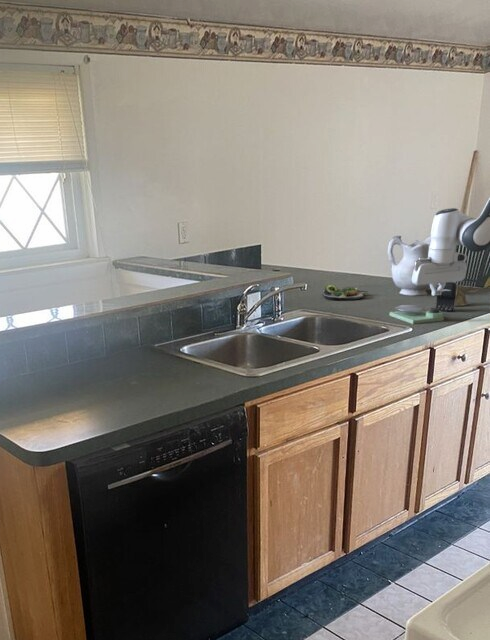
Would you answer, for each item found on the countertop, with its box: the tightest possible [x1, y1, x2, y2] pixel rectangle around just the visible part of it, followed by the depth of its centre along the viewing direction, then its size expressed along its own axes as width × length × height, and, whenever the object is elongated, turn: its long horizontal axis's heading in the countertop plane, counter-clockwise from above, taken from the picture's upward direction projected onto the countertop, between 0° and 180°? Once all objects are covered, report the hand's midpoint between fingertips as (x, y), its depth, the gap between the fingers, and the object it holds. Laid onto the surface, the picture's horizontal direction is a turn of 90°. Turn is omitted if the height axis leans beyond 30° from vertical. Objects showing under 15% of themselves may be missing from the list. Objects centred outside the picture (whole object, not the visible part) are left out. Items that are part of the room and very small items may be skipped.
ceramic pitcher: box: [387, 235, 431, 296], centre depth 283 cm, size 22×20×25 cm
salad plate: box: [321, 283, 369, 301], centre depth 286 cm, size 19×18×5 cm
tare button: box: [429, 307, 439, 313], centre depth 241 cm, size 3×3×2 cm
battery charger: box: [435, 281, 458, 313], centre depth 252 cm, size 7×4×11 cm, turn 54°
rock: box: [454, 283, 468, 307], centre depth 261 cm, size 11×9×10 cm
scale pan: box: [395, 304, 425, 312], centre depth 247 cm, size 10×10×1 cm
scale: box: [389, 309, 445, 325], centre depth 246 cm, size 15×14×3 cm
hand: (436, 295), depth 239 cm, fingers closed
